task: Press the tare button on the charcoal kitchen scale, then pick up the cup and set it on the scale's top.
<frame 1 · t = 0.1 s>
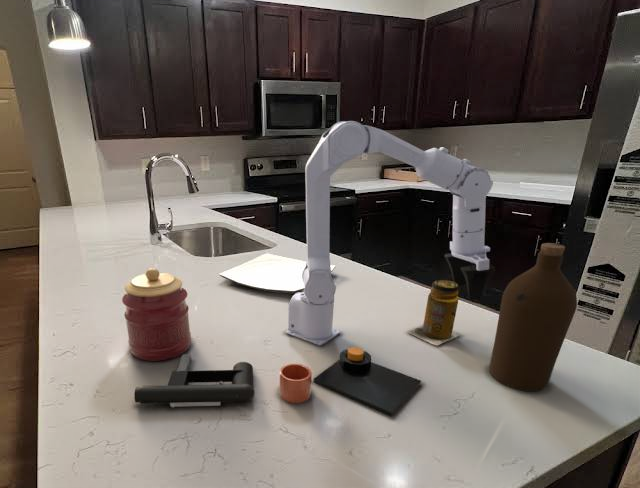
hand: (467, 291, 88), 11 cm above the counter, tool pointing down, fingers open, 7 cm apart
condiment: (433, 335, 93), on the counter
tare button: (355, 354, 80), point 3 cm above the counter, slide at 0.1 cm
cup: (294, 393, 73), on the counter
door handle: (199, 385, 76), on the counter
plate: (278, 278, 129), on the counter
scale: (366, 383, 76), on the counter
kitchen canister: (161, 347, 90), on the counter
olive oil: (517, 377, 77), on the counter
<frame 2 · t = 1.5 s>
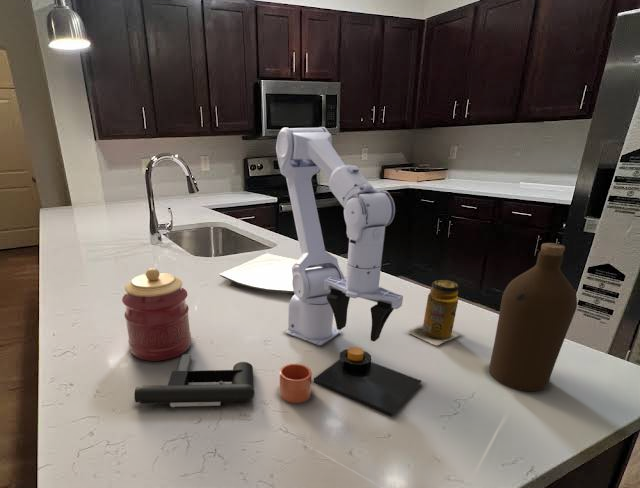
hand: (357, 333, 78), 7 cm above the counter, tool pointing down, fingers open, 6 cm apart
nothing on the counter moved.
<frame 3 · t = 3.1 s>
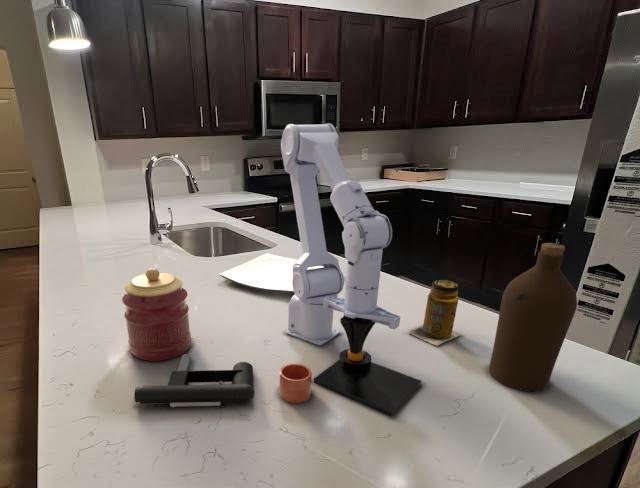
hand: (356, 351, 80), 4 cm above the counter, tool pointing down, fingers closed, pressing on tare button
tare button: (355, 354, 80), point 3 cm above the counter, slide at 0.1 cm, touching gripper
everything else where it was.
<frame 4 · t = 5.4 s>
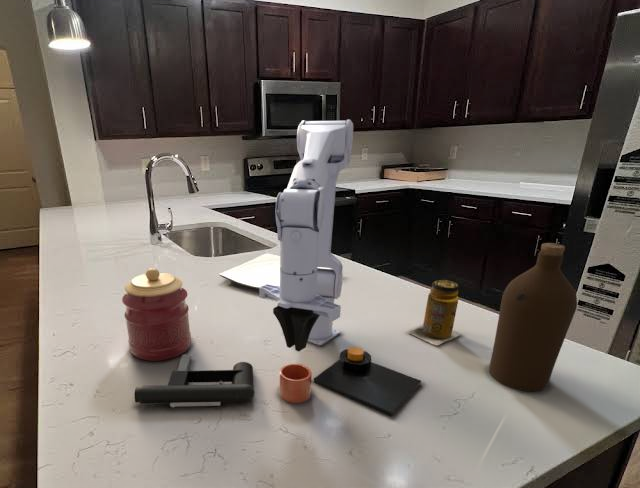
hand: (296, 346, 70), 9 cm above the counter, tool pointing down, fingers closed
tare button: (355, 354, 80), point 3 cm above the counter, slide at 0.1 cm
everything else where it was.
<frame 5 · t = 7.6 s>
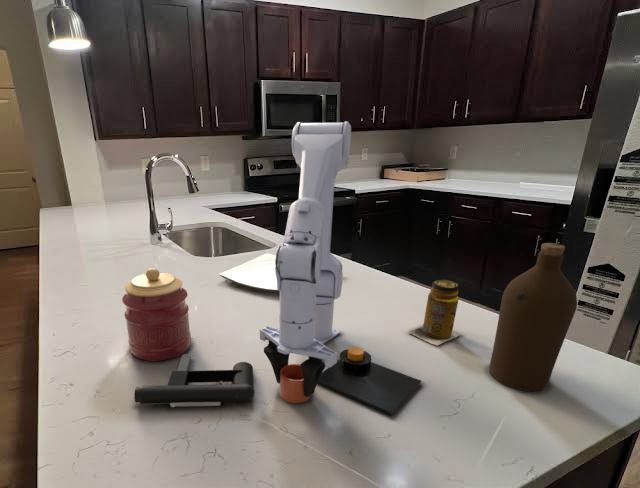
hand: (295, 387, 73), 1 cm above the counter, tool pointing down, fingers closed on cup, 5 cm apart
cup: (295, 393, 73), on the counter, touching gripper
everything else where it was.
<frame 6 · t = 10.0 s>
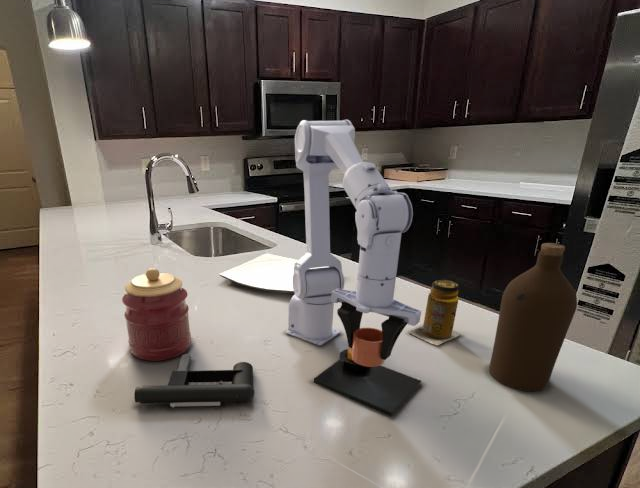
hand: (368, 351, 70), 8 cm above the counter, tool pointing down, fingers closed on cup, 5 cm apart
cup: (367, 358, 70), point 7 cm above the counter, touching gripper
everything else where it was.
when the fingers open (2 cm above the counter, at t = 12.4 s): cup stays where it is, resting on scale.
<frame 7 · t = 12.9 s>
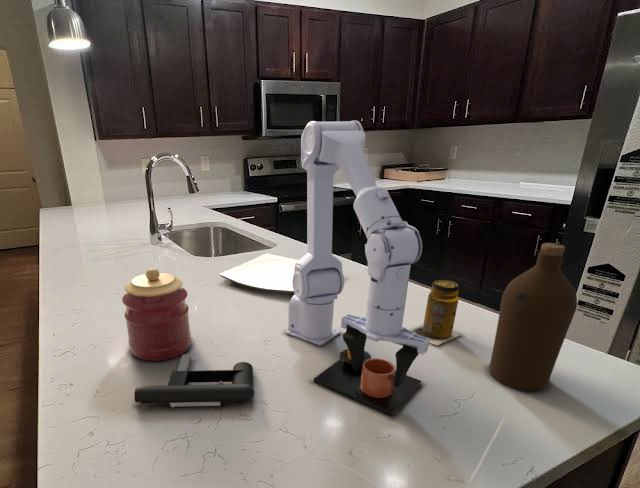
hand: (377, 375, 72), 3 cm above the counter, tool pointing down, fingers open, 7 cm apart
cup: (376, 388, 73), point 1 cm above the counter, touching scale
everything else where it was.
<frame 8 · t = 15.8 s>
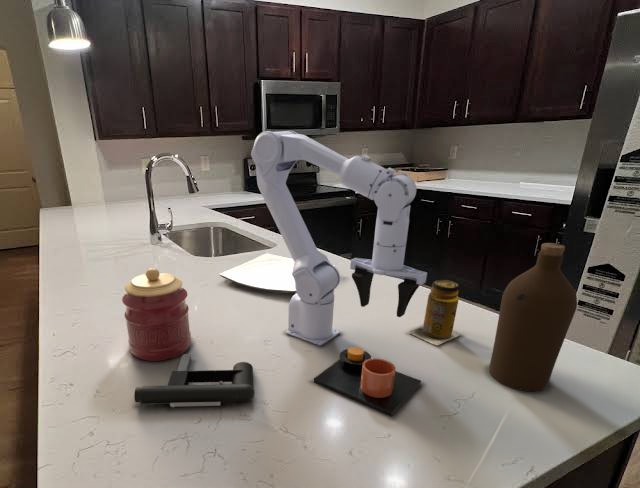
hand: (382, 310, 83), 9 cm above the counter, tool pointing down, fingers open, 7 cm apart
nothing on the counter moved.
at the end: tare button pushed in 1.0 cm at the most during the clip, back to where it started at the end; cup inside the target area on the scale (3.0 cm from its centre), point 0.9 cm above the scale's base; cup touching scale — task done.
